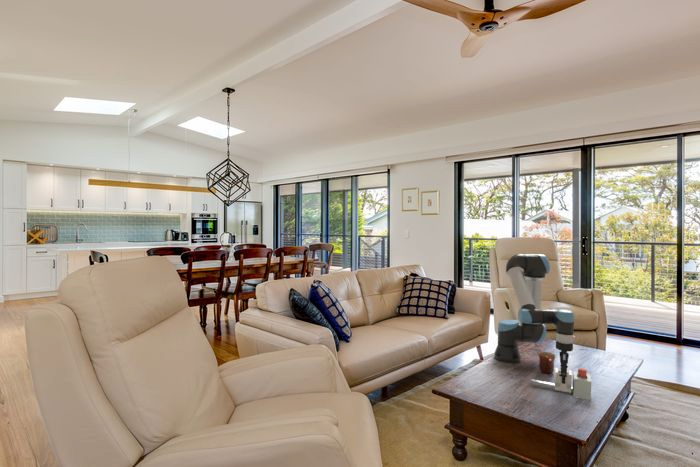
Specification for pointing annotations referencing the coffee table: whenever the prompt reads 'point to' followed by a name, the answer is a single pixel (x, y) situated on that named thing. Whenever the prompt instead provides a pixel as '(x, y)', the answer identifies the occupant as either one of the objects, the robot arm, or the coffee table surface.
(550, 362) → the mug
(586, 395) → the end cabinet
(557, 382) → the cream and grey block
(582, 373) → the button
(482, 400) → the coffee table surface
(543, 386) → the rail
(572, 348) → the robot arm
